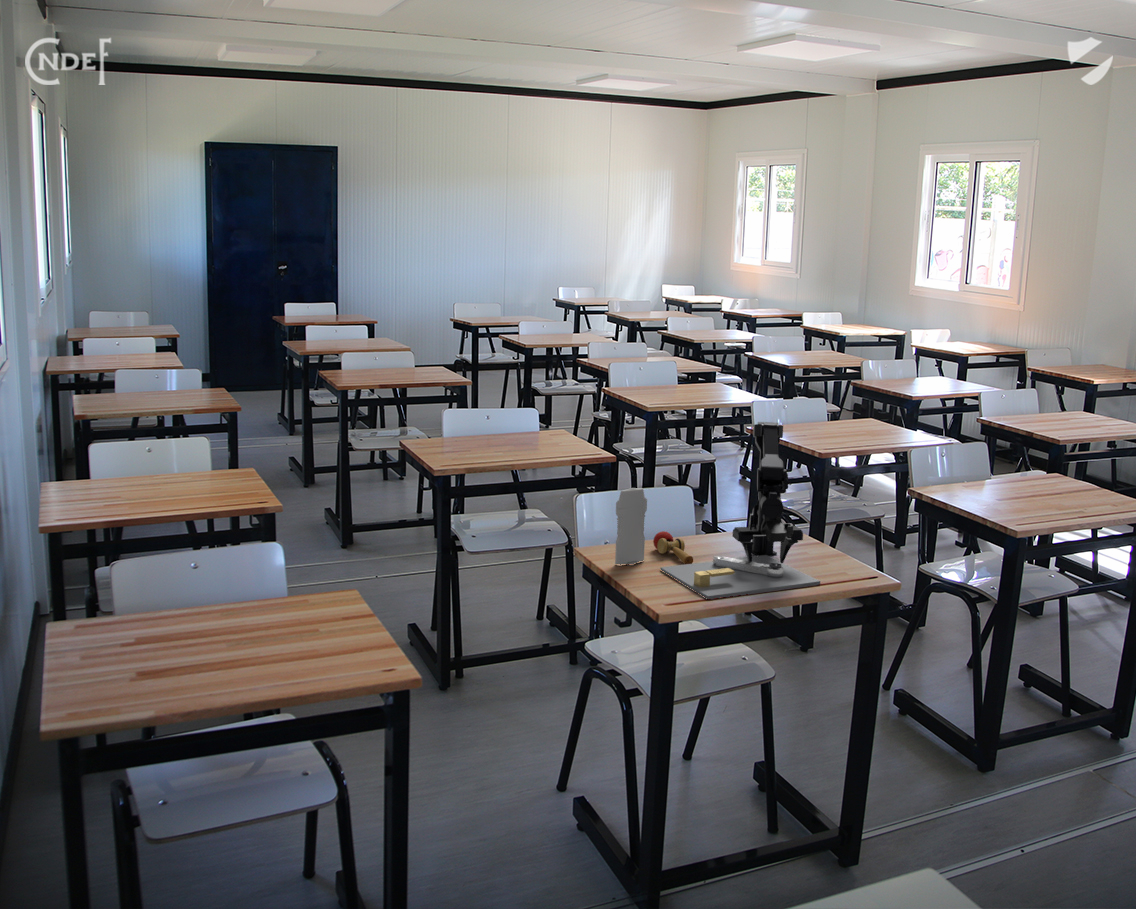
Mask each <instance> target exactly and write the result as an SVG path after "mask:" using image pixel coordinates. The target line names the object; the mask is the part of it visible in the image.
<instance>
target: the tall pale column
mask: <svg viewBox="0 0 1136 909" xmlns="http://www.w3.org/2000/svg"><path fill="white" fill-rule="evenodd" d="M647 510H648V498H647V497H646V496H645V491H644V488H641V487H638V488H636V487H629V488H627V489H623V490H621V491H620V494H619V498H618V500H617V501H616V503H615V514H616V516H617V518H616V520H617V523H616V524H617V530H616V531H617V532H616V535H617V537H616V540H615V556H614V558H615V559H614V560H615V561H614V565H615V564H620V565H621V564H634V563H637V562H639V561H643V560H644V561H645V546H646V545H645V543H646V542H645V540H646V539H645V538H646V537H645V533H644V531H645V520H646V519H645V518H646V512H647Z"/></svg>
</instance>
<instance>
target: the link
mask: <svg viewBox="0 0 1136 909" xmlns="http://www.w3.org/2000/svg"><path fill="white" fill-rule="evenodd" d="M712 560H713V565H716V566H721V567H726V568H731V569H737V570H742V571H747V572H752V573H757V574H763V575H767V576H769V577H774V578H780V577H783V570H784V568H783V567H781V568H777V569H775V568H772V567H770V566H769V565H766V564H760V563H755V562H750V561H744V560H739V559H736V558H735V557H734V558H732V557H727V556H722V555H714V556H713V557H712Z"/></svg>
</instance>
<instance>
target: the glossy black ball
mask: <svg viewBox="0 0 1136 909" xmlns="http://www.w3.org/2000/svg"><path fill="white" fill-rule="evenodd" d="M769 566H770V567H772V568H775V569H777V568H781V566H782V565H781V564H778V563H770V565H769Z"/></svg>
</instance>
